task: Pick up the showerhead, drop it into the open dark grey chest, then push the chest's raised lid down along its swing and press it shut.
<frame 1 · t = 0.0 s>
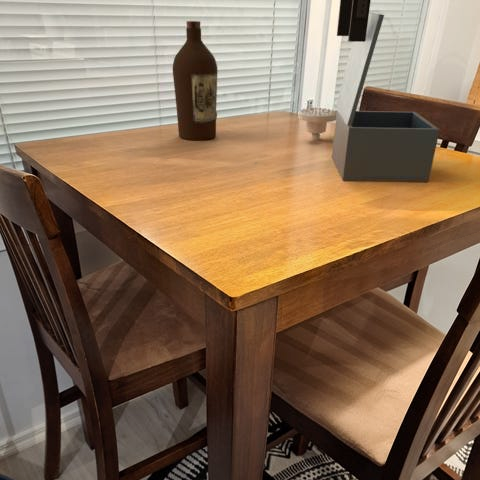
hand: (349, 38, 87), 24 cm above the table, tool pointing down, fingers open, 13 cm apart
showerhead: (316, 140, 124), on the table
chest: (376, 169, 103), on the table
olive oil: (197, 137, 126), on the table
lid: (356, 67, 93), point 19 cm above the table, hinge at 80.0°
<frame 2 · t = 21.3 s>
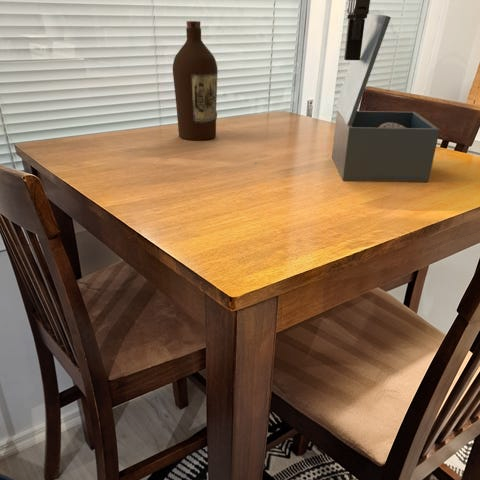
hand: (351, 59, 92), 20 cm above the table, tool pointing down, fingers closed
showerhead: (384, 164, 102), point 1 cm above the table, touching chest
lid: (359, 68, 93), point 19 cm above the table, hinge at 76.1°, touching gripper
everything else where it was.
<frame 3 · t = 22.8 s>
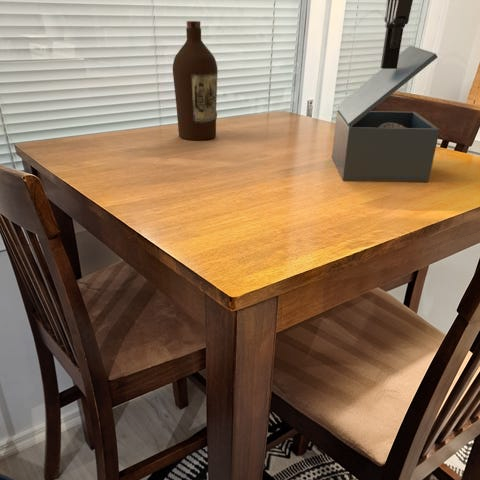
hand: (388, 68, 93), 19 cm above the table, tool pointing down, fingers closed
lid: (381, 84, 94), point 16 cm above the table, hinge at 40.9°, touching gripper
everything else where it was.
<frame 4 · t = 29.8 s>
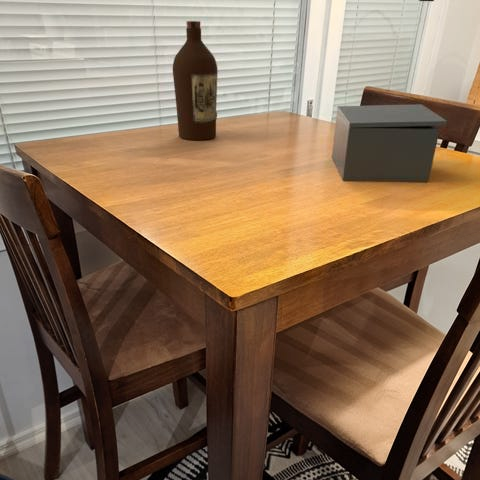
hand: (426, 1, 104), 29 cm above the table, tool pointing down, fingers closed
lid: (387, 115, 97), point 11 cm above the table, hinge at 2.1°
everything else where it was.
at the end: showerhead inside the target area in the chest (1.4 cm from its centre), point 1.1 cm above the chest's base; lid at +2° (first picture: +80°) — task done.
